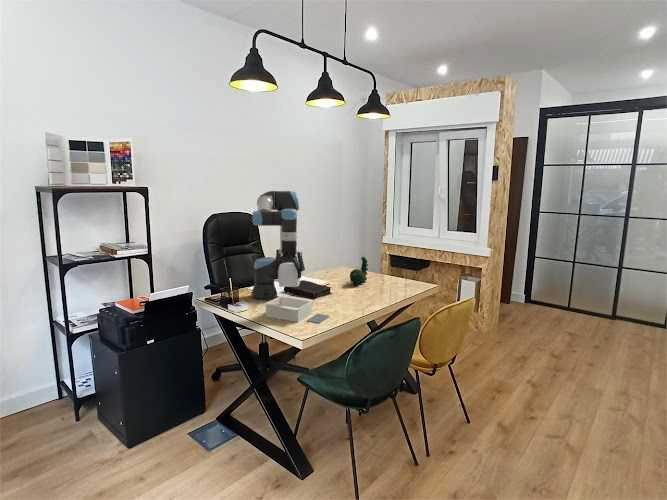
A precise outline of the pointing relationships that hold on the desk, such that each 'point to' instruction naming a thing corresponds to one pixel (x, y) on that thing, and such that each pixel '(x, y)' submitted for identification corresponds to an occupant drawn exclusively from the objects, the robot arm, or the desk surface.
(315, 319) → the mat
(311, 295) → the diary
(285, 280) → the photo printer
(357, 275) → the toy figurine
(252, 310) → the desk surface
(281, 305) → the carton
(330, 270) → the desk surface
